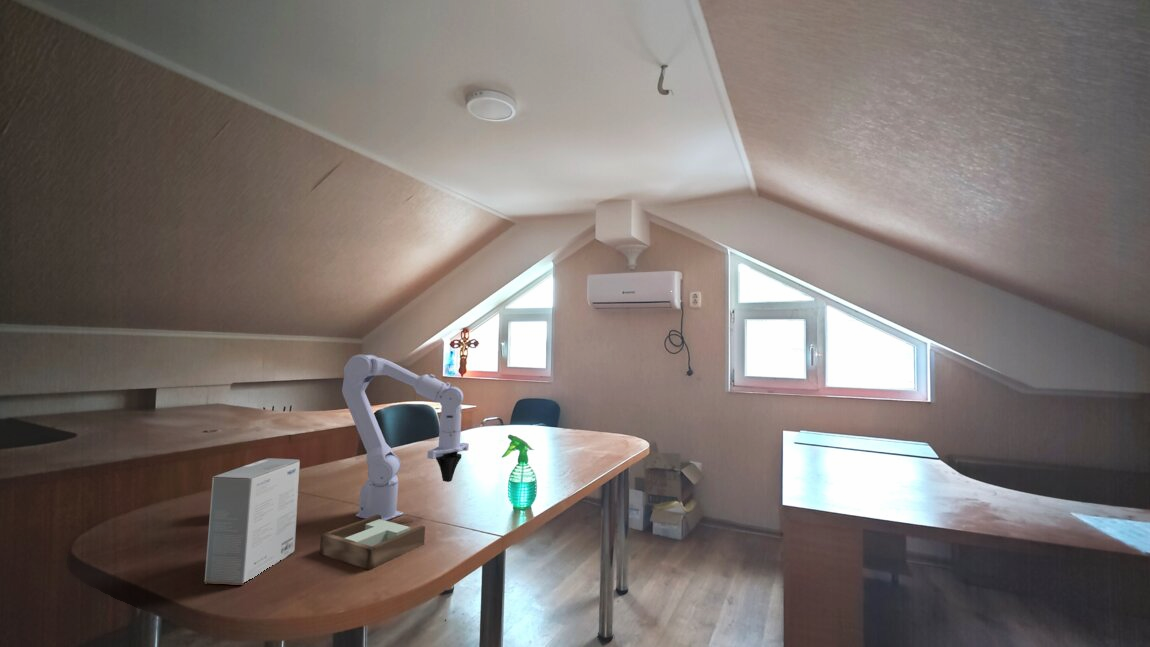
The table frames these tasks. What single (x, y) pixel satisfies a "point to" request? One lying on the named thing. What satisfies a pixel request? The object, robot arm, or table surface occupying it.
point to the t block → (378, 532)
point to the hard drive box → (251, 519)
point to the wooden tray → (365, 554)
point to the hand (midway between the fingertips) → (447, 481)
